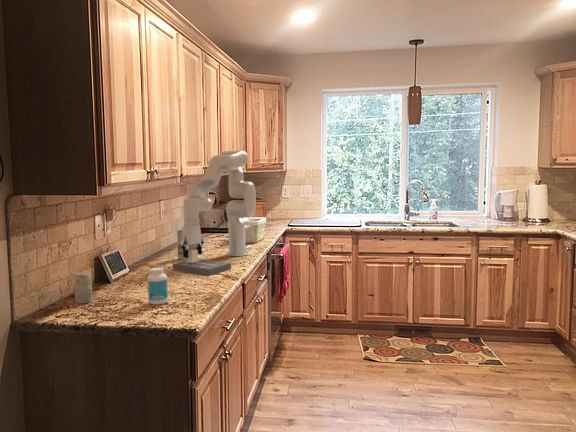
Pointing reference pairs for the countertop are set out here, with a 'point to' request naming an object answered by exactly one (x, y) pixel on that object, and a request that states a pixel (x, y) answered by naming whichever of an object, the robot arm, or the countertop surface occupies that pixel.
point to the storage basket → (254, 229)
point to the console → (202, 267)
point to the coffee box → (180, 251)
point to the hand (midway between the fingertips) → (192, 255)
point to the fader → (193, 256)
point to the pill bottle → (157, 287)
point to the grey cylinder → (83, 287)
